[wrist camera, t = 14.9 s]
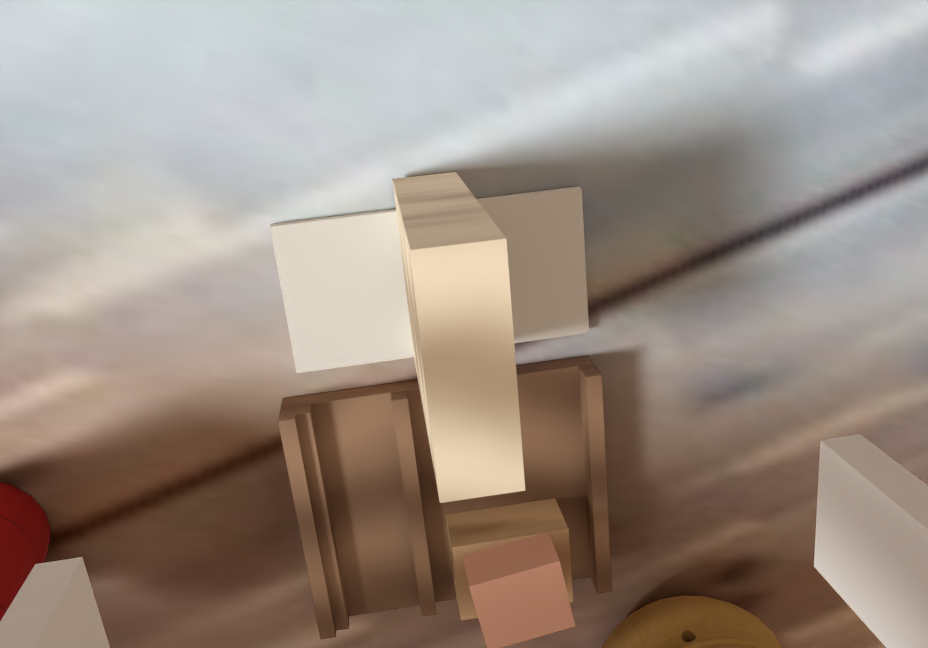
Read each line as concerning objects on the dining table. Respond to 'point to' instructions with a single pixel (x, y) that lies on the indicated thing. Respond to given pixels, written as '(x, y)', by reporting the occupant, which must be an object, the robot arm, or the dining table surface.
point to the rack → (431, 487)
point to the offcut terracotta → (518, 591)
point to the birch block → (461, 336)
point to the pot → (691, 626)
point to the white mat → (383, 285)
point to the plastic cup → (19, 541)
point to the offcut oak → (504, 539)
